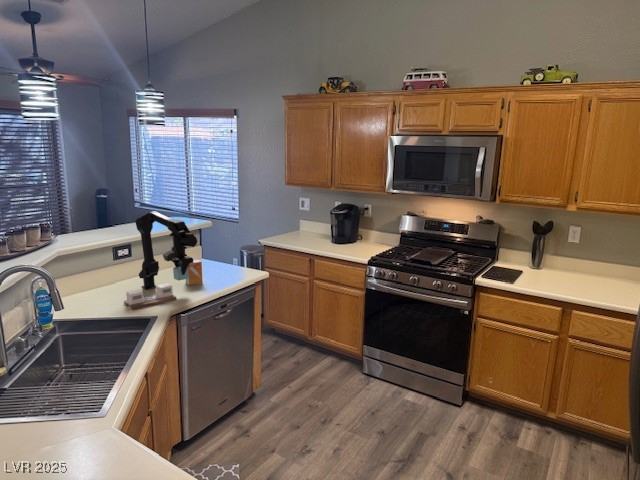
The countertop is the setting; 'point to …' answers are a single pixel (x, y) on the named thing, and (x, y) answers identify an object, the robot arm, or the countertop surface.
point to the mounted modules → (137, 295)
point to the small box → (195, 273)
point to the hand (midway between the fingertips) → (181, 273)
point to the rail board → (150, 302)
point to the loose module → (180, 274)
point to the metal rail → (149, 299)
